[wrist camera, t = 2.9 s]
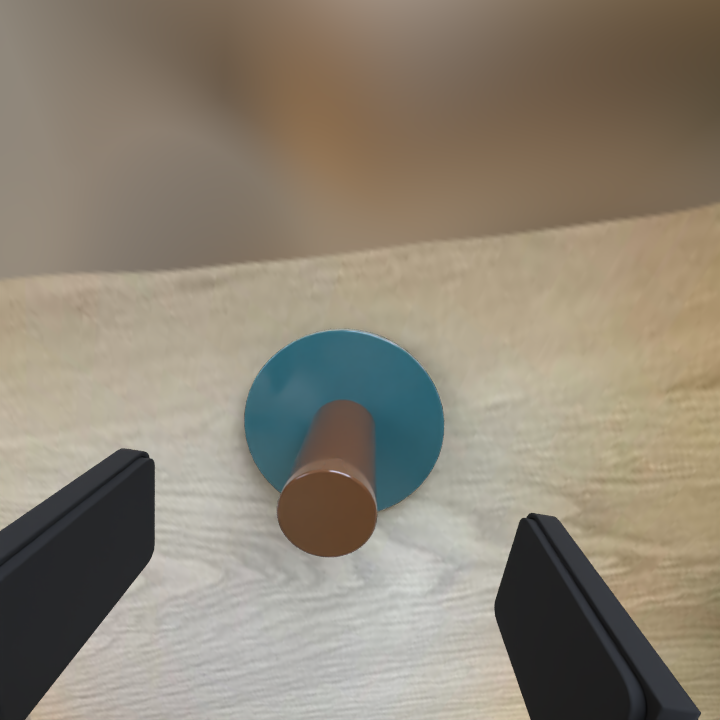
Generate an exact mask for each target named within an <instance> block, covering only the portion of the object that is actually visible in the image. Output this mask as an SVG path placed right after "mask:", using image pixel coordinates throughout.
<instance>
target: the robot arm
mask: <svg viewBox="0 0 720 720" xmlns="http://www.w3.org/2000/svg"><path fill="white" fill-rule="evenodd" d="M154 546H155V464H154V461H153V459H150V458H149V455H148V453H147V452H144V451H138V450H131V449H125V448H124V449H120V450H118V451H116V452H115V453H113V454H112V455H110V456H109V457H107V458H106V459H104V460H103V461H102V462H100V463H99V464H97V465H96V466H94V467H93V468H91V469H90V470H88V471H87V472H86V473H84V474H83V475H81V476H80V477H78V478H77V479H75V480H74V481H72V482H71V483H70V484H68V485H67V486H65V487H64V488H62V489H61V490H59V491H58V492H56V493H55V494H54V495H52V496H51V497H49V498H48V499H46V500H45V501H43V502H42V503H40V504H39V505H37V506H36V507H35V508H33V509H32V510H30V511H29V512H27V513H26V514H24V515H23V516H21V517H20V518H19V519H17V520H16V521H14V522H13V523H11V524H10V525H8V526H7V527H5V528H4V529H3V530H1V531H0V720H25V719H26V718H27V716H28V715H29V714H30V713H31V711H32V710H33V709H34V707H35V706H36V705H37V704H38V702H39V701H40V700H41V699H42V697H43V696H44V695H45V693H46V692H47V691H48V690H49V688H50V687H51V686H52V685H53V683H54V682H55V681H56V679H57V678H58V677H59V676H60V674H61V673H62V672H63V671H64V669H65V668H66V667H67V665H68V664H69V663H70V662H71V660H72V659H73V658H74V657H75V655H76V654H77V653H78V652H79V650H80V649H81V648H82V646H83V645H84V644H85V643H86V641H87V640H88V639H89V638H90V636H91V635H92V634H93V632H94V631H95V630H96V629H97V627H98V626H99V625H100V624H101V622H102V621H103V620H104V618H105V617H106V616H107V615H108V613H109V612H110V611H111V610H112V608H113V607H114V606H115V604H116V603H117V602H118V601H119V599H120V598H121V597H122V596H123V594H124V593H125V592H126V590H127V589H128V588H129V587H130V585H131V584H132V583H133V582H134V580H135V579H136V578H137V576H138V575H139V574H140V573H141V571H142V570H143V569H144V568H145V566H146V565H147V564H148V562H149V561H150V559H151V557H152V554H153V551H154ZM494 608H495V617H496V621H497V623H498V626H499V629H500V632H501V635H502V638H503V641H504V644H505V647H506V650H507V652H508V655H509V658H510V661H511V664H512V667H513V670H514V673H515V676H516V678H517V681H518V684H519V687H520V690H521V693H522V696H523V699H524V702H525V705H526V707H527V710H528V713H529V716H530V719H531V720H698V718H699V716H700V714H701V712H700V711H699V709H698V708H697V707H696V705H695V704H694V703H693V701H692V700H691V699H690V697H689V696H688V695H687V693H686V692H685V690H684V689H683V688H682V686H681V685H680V684H679V682H678V681H677V680H676V678H675V677H674V676H673V674H672V673H671V672H670V670H669V669H668V667H667V666H666V665H665V663H664V662H663V661H662V659H661V658H660V657H659V655H658V654H657V653H656V651H655V650H654V648H653V647H652V646H651V644H650V643H649V642H648V640H647V639H646V638H645V636H644V635H643V634H642V632H641V631H640V629H639V628H638V627H637V625H636V624H635V623H634V621H633V620H632V619H631V617H630V616H629V615H628V613H627V612H626V610H625V609H624V608H623V606H622V605H621V604H620V602H619V601H618V600H617V598H616V597H615V596H614V594H613V593H612V592H611V590H610V589H609V587H608V586H607V585H606V583H605V582H604V581H603V579H602V578H601V577H600V575H599V574H598V573H597V571H596V570H595V568H594V567H593V566H592V564H591V563H590V562H589V560H588V559H587V558H586V556H585V555H584V554H583V552H582V551H581V549H580V548H579V547H578V545H577V544H576V543H575V541H574V540H573V539H572V537H571V536H570V535H569V533H568V532H567V530H566V529H565V528H564V526H563V525H562V524H561V522H560V521H559V520H558V519H557V518H556V517H554V516H548V515H541V514H535V513H530V514H529V515H528V516H527V518H522V519H521V520H520V522H519V525H518V529H517V532H516V535H515V538H514V541H513V545H512V548H511V551H510V554H509V558H508V561H507V564H506V567H505V571H504V574H503V577H502V580H501V584H500V587H499V590H498V593H497V597H496V600H495V607H494Z"/></svg>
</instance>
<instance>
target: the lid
mask: <svg viewBox="0 0 720 720" xmlns="http://www.w3.org/2000/svg"><path fill="white" fill-rule="evenodd" d="M244 426H245V433H246V440H247V443H248V447H249V450H250V453H251V455H252V457H253V460H254V462H255V463H256V465H257V467H258V468H259V470H260V472H261V473H262V474H263V475H264V477H265V478H266V479H267V481H268V482H269V483H270V484H271V485H272V486H273V487H274V488H275V489H276V490H278V491H279V492H280V493H281V494H280V496H279V499H278V503H277V518H278V522H279V525H280V528H281V530H282V532H283V533H284V535H285V536H286V537H287V539H288V540H289V541H290V542H291V543H292V544H293V545H295V546H296V547H297V548H299V549H301V550H302V551H304V552H306V553H309V554H312V555H315V556H320V557H339V556H343V555H347V554H349V553H352V552H354V551H356V550H357V549H359V548H360V547H361V546H363V545H364V544H365V543H366V542H367V541H368V539H369V538H370V536H371V535H372V533H373V531H374V529H375V526H376V523H377V512H378V511H381V510H383V509H386V508H388V507H391V506H393V505H395V504H396V503H398V502H400V501H402V500H403V499H405V498H406V497H407V496H409V495H410V494H411V493H413V492H414V491H415V490H416V489H417V488H418V487H419V486H420V485H421V484H422V483H423V481H424V480H425V479H426V478H427V477H428V475H429V473H430V472H431V470H432V469H433V467H434V465H435V463H436V461H437V459H438V456H439V453H440V450H441V447H442V442H443V436H444V415H443V408H442V404H441V401H440V397H439V394H438V392H437V390H436V388H435V385H434V383H433V381H432V380H431V378H430V377H429V375H428V373H427V372H426V370H425V369H424V368H423V367H422V365H421V364H420V363H419V362H418V360H416V359H415V358H414V357H413V356H412V355H411V354H410V353H409V352H408V351H406V350H405V349H404V348H402V347H401V346H399V345H398V344H396V343H394V342H392V341H391V340H389V339H387V338H385V337H382V336H379V335H377V334H374V333H371V332H366V331H362V330H355V329H329V330H324V331H318V332H315V333H312V334H308V335H305V336H303V337H301V338H299V339H297V340H295V341H293V342H291V343H290V344H288V345H286V346H285V347H283V348H282V349H281V350H280V351H278V352H277V353H276V354H275V355H274V356H273V357H271V358H270V359H269V361H268V362H267V363H266V364H265V365H264V366H263V367H262V369H261V370H260V372H259V373H258V375H257V376H256V378H255V380H254V382H253V384H252V386H251V389H250V391H249V394H248V398H247V401H246V407H245V425H244Z"/></svg>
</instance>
